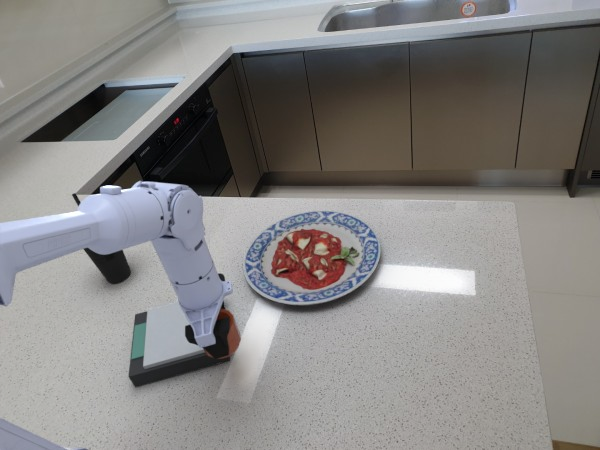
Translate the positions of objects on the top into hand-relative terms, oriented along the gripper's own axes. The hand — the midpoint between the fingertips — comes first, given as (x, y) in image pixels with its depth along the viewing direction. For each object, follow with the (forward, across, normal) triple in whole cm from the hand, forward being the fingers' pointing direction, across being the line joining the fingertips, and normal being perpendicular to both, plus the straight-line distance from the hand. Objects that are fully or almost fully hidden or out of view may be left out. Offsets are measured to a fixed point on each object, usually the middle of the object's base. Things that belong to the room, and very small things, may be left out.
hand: (220, 338), depth 65 cm
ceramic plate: (+9, +20, -17) cm, 28 cm away
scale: (+8, +9, +7) cm, 14 cm away
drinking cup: (+9, +31, +21) cm, 39 cm away
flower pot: (+1, 0, 0) cm, 1 cm away
